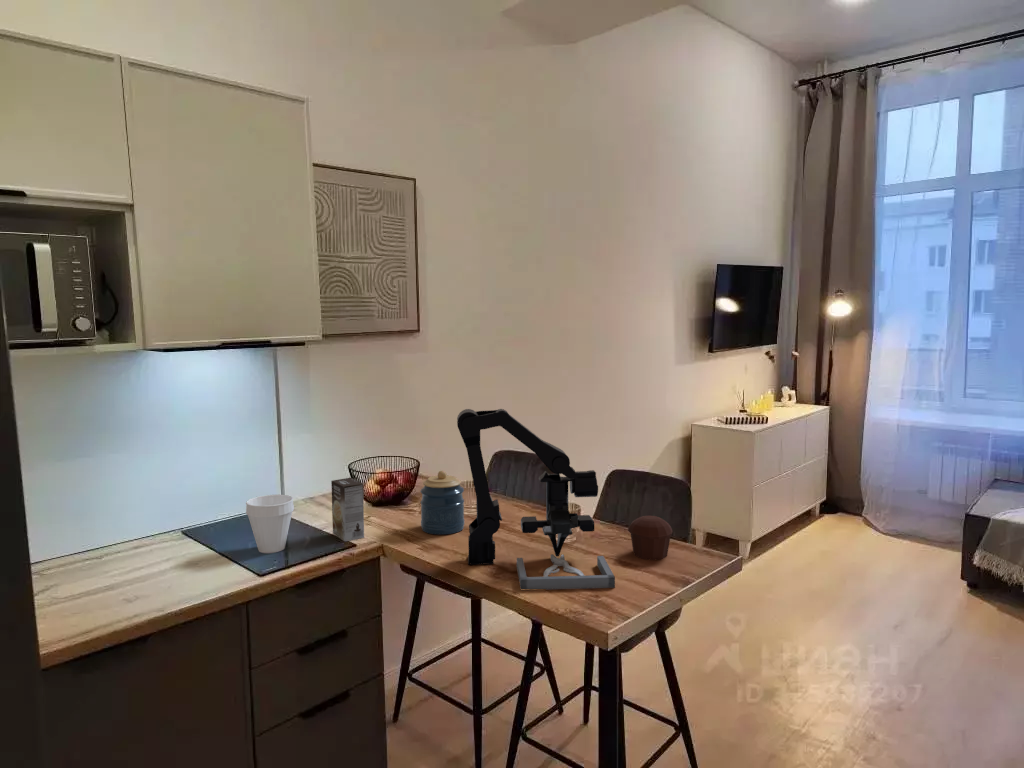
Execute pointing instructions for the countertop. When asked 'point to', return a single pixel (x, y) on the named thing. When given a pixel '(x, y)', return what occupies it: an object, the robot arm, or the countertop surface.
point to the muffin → (650, 537)
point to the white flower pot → (270, 521)
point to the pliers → (561, 562)
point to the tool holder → (568, 579)
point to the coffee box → (347, 509)
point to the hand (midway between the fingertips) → (557, 555)
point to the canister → (442, 505)
